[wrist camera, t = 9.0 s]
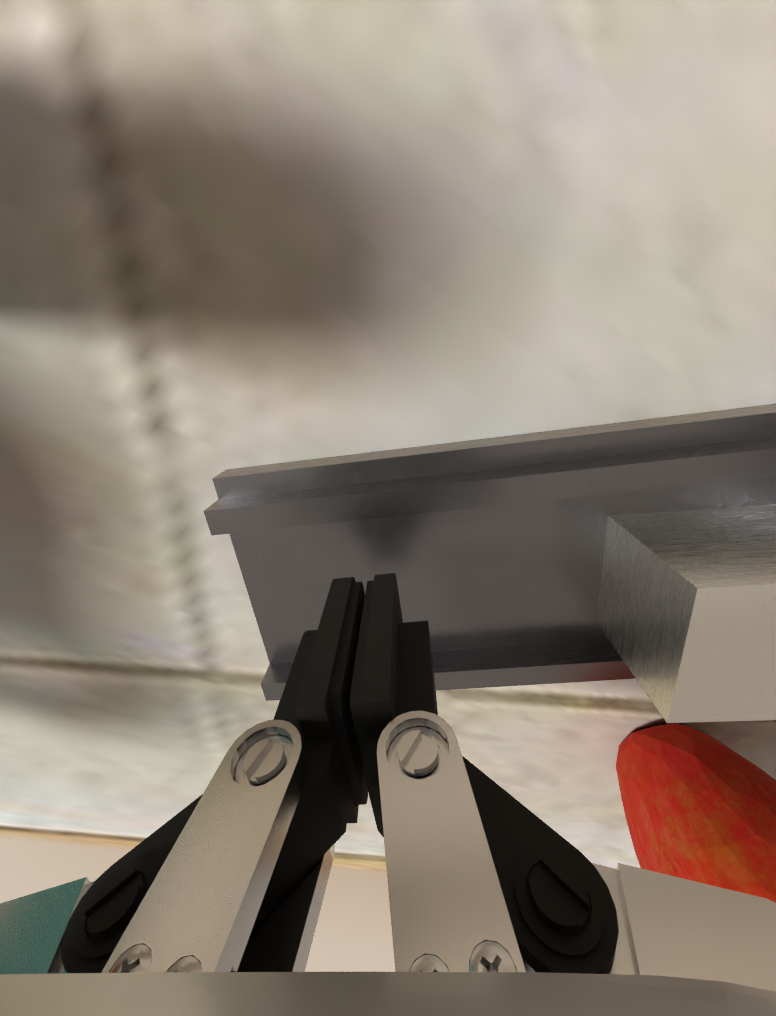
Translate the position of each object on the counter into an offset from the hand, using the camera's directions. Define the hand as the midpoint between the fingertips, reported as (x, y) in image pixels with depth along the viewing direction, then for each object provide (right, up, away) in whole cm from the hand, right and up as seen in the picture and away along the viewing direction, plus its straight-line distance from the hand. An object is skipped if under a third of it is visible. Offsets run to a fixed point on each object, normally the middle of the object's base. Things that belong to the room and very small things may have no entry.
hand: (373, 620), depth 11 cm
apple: (+12, -7, +7) cm, 16 cm away
